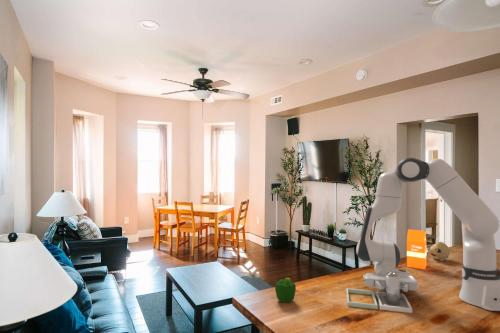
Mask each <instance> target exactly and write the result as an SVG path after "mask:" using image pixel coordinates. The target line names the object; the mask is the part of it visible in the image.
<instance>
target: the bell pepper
mask: <svg viewBox="0 0 500 333" xmlns="http://www.w3.org/2000/svg"><path fill="white" fill-rule="evenodd" d="M296 288H297V287H296V283H295V282H293V281H292V279H291V278H290V277H285V278H284V279H280V280H278V281H276V282H275V283H274V289H275V290H274V291H275V295H276V298H277V300H278V301H279V303H292V302H293V301H294V299H295V295H296V291H297V289H296Z"/></svg>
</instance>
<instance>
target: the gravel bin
mask: <svg viewBox="0 0 500 333" xmlns="http://www.w3.org/2000/svg"><path fill="white" fill-rule="evenodd" d="M375 297H376V301H377V304H378V305H379V306H378V307H379V309H380V310H382V311H388V312H389V311H391V312H398V313H399V312H400V313H410V314H413V308H412V306H411V303H410V302H409V299H408V298H407V296H406V295H405V293H403V292H402V293H401V292H400V305H399V306H392V305H389V304H387V303H386V291H378V290H376V291H375Z"/></svg>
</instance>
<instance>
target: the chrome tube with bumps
mask: <svg viewBox="0 0 500 333" xmlns="http://www.w3.org/2000/svg"><path fill="white" fill-rule="evenodd" d="M400 291H401V289H400V276H399V275H398V274H397V273H394V272H390V273H389V274H386V288H385V292H386V303H387V304H389V305H392V306H399V305H400V293H401V292H400Z"/></svg>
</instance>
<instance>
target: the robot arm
mask: <svg viewBox="0 0 500 333" xmlns="http://www.w3.org/2000/svg"><path fill="white" fill-rule="evenodd" d="M420 180H425V181H426V182H428V183H429V184H430V186H431V187H432V188H433V189H434V190H435V192H436V193H437V194H438V195H439V196H440V198H441V199H442V200H443V202H445V203H446V205H447V206H448V207H449V208H450V209H451V210H452V212H453V213H454V214H455V216H456V217H457V218H458V219H459V221H461V234H462V235H461V236H462V264H461V277H462V280H461V288H460V291H459V294H458V298H459V299H460V300H461V301H463V302H465V303H467V304H470V305H472V306H474V307H475V306H476V307H479V308H482V309H483V310H487V311H494V312H495V311H496V312H500V269H499V268H497V246H496V242H495V234H496V233H497V232H498V231H499V227H500V220H499V218H498V216H497V215H496V214H495V213H494V212H493V211H492V210H491V208H490V207H489V206H488V205H487V204H486V203H485V201H484V200H482V199H481V197H479V195H478V194H477V193H476V192H475V191H474V190H473V189H472V188H471V187H470V186H469V184H468V183H467V182H466V181H465V180H464V179H463V177H462V176H461V175H460V174H459V173H458V172H457V171H456V170H455V169H454V168H453V167H452V166H451V165H450V164H449V163H448V162H446V161H445V160H443V159H442V158H433V159H430V160H428V161H423V160H422V159H419V158H415V157H405V158H403V159H401V160H400V161H399V162H398V163H397V166H396V169H395V170H394V171H387V172H382V173H381V174H380V175H379V177H378V180H377V184H376V189H375V190H376V192H375V199H374V202H373V203H372V204H371V205H369V206H368V207H367V209H366V212H365V215H364V219H363V223H362V228H361V231H360V235H359V240H358V242H357V245H356V249H355V250H356V251H355V252H356V253H355V254H356V255H357V257H358V258H359V259H360V260H361V261H363V262H374V266H373V269H374V270H373V271H374V272H366V273H365V274H363V275H362V278H363V279H364V286H366V287H371V288H377V289H379V290H381V291H383V290H384V289H386V274H389V273H390V272H394V273H397V274H398V275H399V276H400V290H402V293H403V292H404V293H407V292H408V291H412V292H413V291H414V292H416V291H418V289H419V284H418V280H417V279H416V278H415V277H414V276H413V275H412V274H410V273H411V272H410V271H409V270H405V269H399V268H398V267H399V265H400V262H401V252H400V249H399V246H398V245H397V244H396V243H395V242H393V241H387V240H385V241H384V240H376V239H374V240H373V239H371V238H370V236H371V233H372V229H373V225H374V223H375V222H376V221H377V220H379V219H382V218H386V217H390V216H392V215H395V214H396V213H398V211H399V210H400V209H401V206H402V203H403V200H402V199H403V188H404V186H405V185H406V183H415V182H418V181H420ZM399 212H400V211H399Z"/></svg>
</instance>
